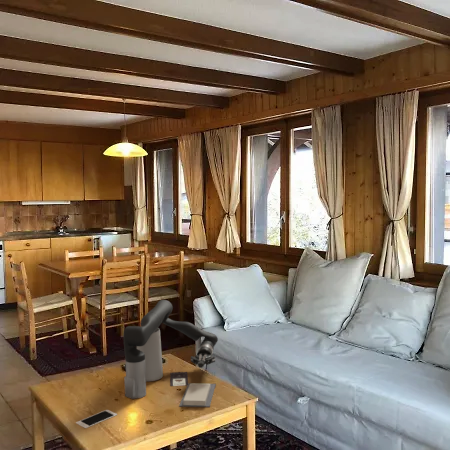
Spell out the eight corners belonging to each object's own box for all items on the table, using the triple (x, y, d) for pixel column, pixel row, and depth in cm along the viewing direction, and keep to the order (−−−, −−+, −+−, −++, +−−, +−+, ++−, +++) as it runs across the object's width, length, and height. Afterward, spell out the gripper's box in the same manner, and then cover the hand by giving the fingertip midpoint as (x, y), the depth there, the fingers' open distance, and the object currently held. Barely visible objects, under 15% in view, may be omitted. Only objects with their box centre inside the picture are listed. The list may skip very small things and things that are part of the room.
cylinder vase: (142, 373, 267) (139, 327, 265) (165, 372, 266) (162, 326, 264) (136, 382, 254) (132, 334, 253) (160, 381, 253) (156, 333, 252)
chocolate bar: (187, 371, 266) (188, 384, 248) (187, 373, 266) (188, 386, 248) (170, 372, 265) (170, 385, 247) (170, 374, 265) (170, 387, 247)
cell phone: (75, 423, 211) (75, 422, 211) (107, 410, 223) (107, 409, 223) (85, 429, 206) (85, 427, 205) (117, 415, 217) (117, 414, 217)
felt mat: (209, 407, 223) (209, 406, 223) (179, 406, 225) (179, 405, 225) (215, 384, 249) (215, 383, 249) (188, 384, 250) (188, 383, 250)
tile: (190, 383, 244) (183, 400, 224) (210, 383, 243) (205, 400, 223) (190, 388, 244) (183, 405, 224) (210, 388, 243) (205, 406, 224)
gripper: (217, 360, 258) (214, 373, 241) (192, 359, 260) (187, 372, 242) (217, 346, 258) (213, 358, 240) (192, 345, 259) (186, 358, 242)
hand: (200, 365), depth 241 cm, fingers closed
